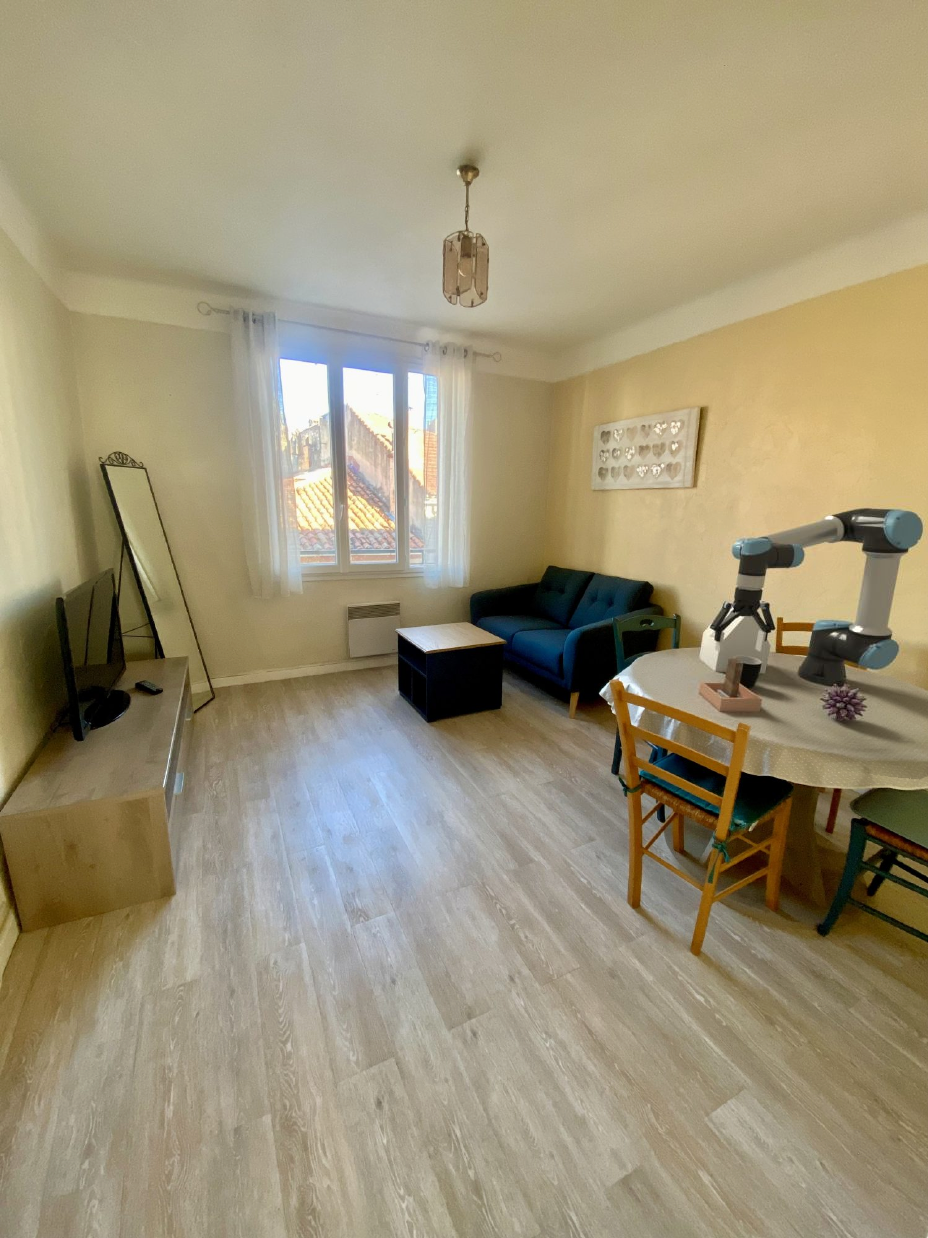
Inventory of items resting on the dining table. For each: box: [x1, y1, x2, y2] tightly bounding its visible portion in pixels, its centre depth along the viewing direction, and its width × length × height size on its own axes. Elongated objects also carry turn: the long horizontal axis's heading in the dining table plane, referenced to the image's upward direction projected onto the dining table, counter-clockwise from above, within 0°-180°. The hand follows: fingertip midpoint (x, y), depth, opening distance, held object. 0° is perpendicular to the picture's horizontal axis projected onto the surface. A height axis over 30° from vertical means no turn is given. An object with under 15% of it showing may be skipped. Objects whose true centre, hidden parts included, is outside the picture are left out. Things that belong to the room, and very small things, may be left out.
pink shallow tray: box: [698, 681, 763, 713], centre depth 161 cm, size 13×13×4 cm
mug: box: [734, 656, 762, 690], centre depth 176 cm, size 12×9×10 cm
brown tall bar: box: [723, 658, 743, 698], centre depth 160 cm, size 2×4×14 cm, turn 1°
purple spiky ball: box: [819, 683, 868, 722], centre depth 149 cm, size 12×12×12 cm
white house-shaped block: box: [698, 601, 771, 674], centre depth 193 cm, size 19×15×25 cm
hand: (738, 650), depth 157 cm, fingers open, 13 cm apart
